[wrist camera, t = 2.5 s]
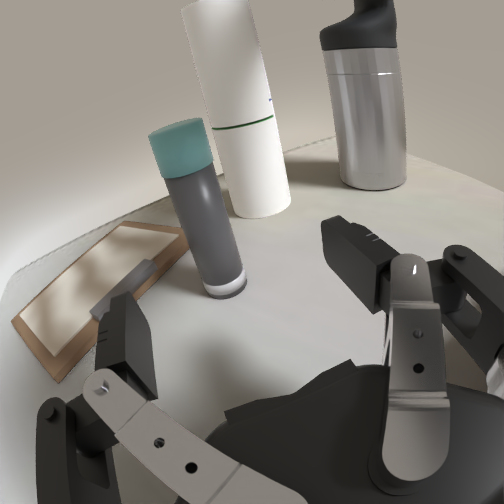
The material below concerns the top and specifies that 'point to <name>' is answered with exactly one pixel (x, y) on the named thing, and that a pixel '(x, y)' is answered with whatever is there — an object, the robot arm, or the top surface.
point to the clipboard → (95, 291)
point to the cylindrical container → (238, 104)
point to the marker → (199, 205)
